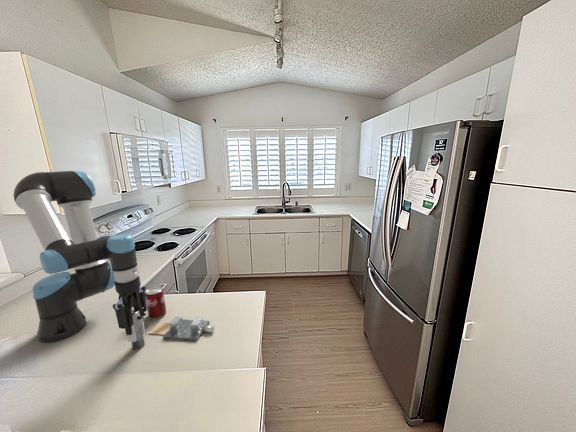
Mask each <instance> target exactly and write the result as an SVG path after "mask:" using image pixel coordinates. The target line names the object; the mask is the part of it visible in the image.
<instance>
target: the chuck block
mask: <svg viewBox="0 0 576 432" xmlns="http://www.w3.org/2000/svg"><path fill="white" fill-rule="evenodd" d="M168 323H169V327H170V329H169V330H168V331H167V332H166V334H165V335H162V339H163V340H176V341H194V342H198V341H199V339H200V338H201V336H203V334H204V333H211V334H213V333H214V331H215V326H214V325H209V324H210V320H204V319H203V317H195V318H194V319H185V318H184V319H183V317H182V316H174V317H173V319H171V321H169V322H168Z"/></svg>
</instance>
